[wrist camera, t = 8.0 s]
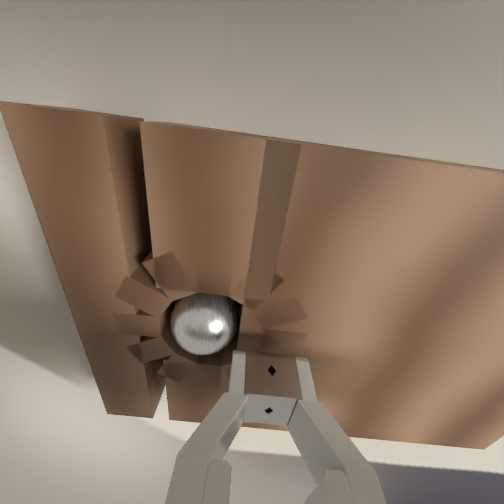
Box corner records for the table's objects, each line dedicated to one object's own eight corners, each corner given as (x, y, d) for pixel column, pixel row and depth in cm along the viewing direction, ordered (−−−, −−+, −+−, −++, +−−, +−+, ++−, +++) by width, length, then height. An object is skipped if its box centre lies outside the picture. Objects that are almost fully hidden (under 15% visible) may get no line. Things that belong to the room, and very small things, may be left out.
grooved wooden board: (676, 194, 9) (808, 216, 7) (454, 407, 17) (483, 449, 15) (66, 107, 8) (-3, 101, 6) (128, 374, 16) (107, 413, 14)
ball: (248, 317, 9) (165, 325, 8) (240, 364, 11) (170, 375, 10) (234, 271, 12) (170, 274, 11) (230, 315, 13) (173, 320, 13)
